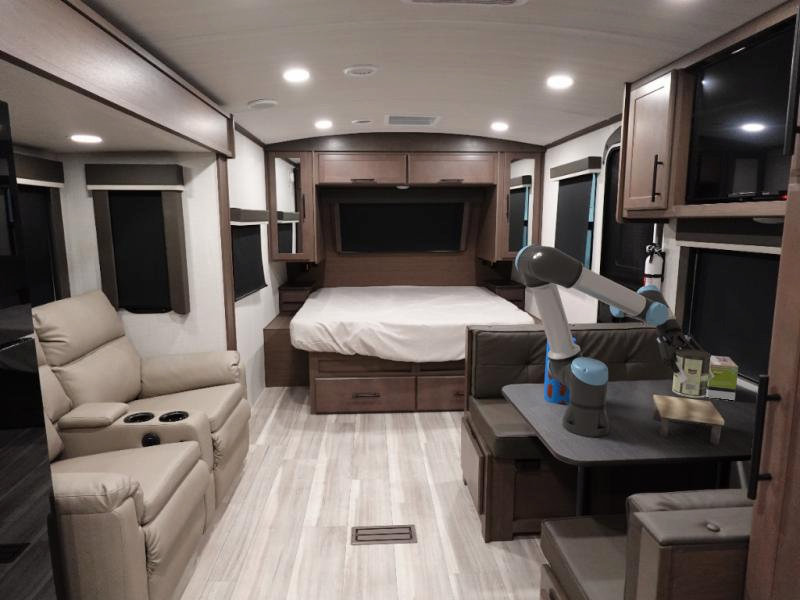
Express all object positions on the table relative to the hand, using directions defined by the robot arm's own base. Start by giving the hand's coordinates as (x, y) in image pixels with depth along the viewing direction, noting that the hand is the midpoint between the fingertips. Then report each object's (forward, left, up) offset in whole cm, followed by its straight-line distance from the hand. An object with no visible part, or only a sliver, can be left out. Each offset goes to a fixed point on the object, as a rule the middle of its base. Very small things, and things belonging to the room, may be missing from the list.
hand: (697, 380), depth 165 cm
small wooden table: (-2, +2, -19) cm, 19 cm away
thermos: (-44, +17, -19) cm, 51 cm away
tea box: (+18, +48, -19) cm, 55 cm away
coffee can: (-2, +2, -6) cm, 6 cm away
